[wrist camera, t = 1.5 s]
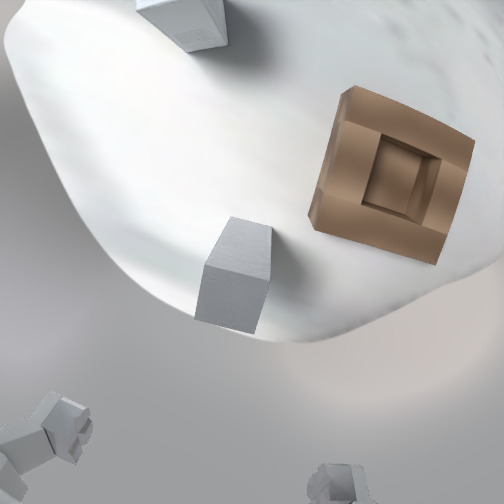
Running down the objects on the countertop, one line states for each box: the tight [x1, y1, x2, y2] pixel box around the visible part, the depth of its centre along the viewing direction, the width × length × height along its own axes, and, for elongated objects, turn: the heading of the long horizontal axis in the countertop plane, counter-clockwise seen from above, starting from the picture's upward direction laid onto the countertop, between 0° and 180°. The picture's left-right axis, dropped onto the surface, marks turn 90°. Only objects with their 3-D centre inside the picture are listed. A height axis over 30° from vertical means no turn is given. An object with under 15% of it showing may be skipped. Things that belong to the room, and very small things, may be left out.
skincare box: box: [136, 0, 228, 53], centre depth 18 cm, size 6×4×12 cm
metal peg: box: [194, 217, 272, 334], centre depth 25 cm, size 4×4×12 cm
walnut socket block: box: [308, 85, 475, 265], centre depth 25 cm, size 12×12×5 cm
